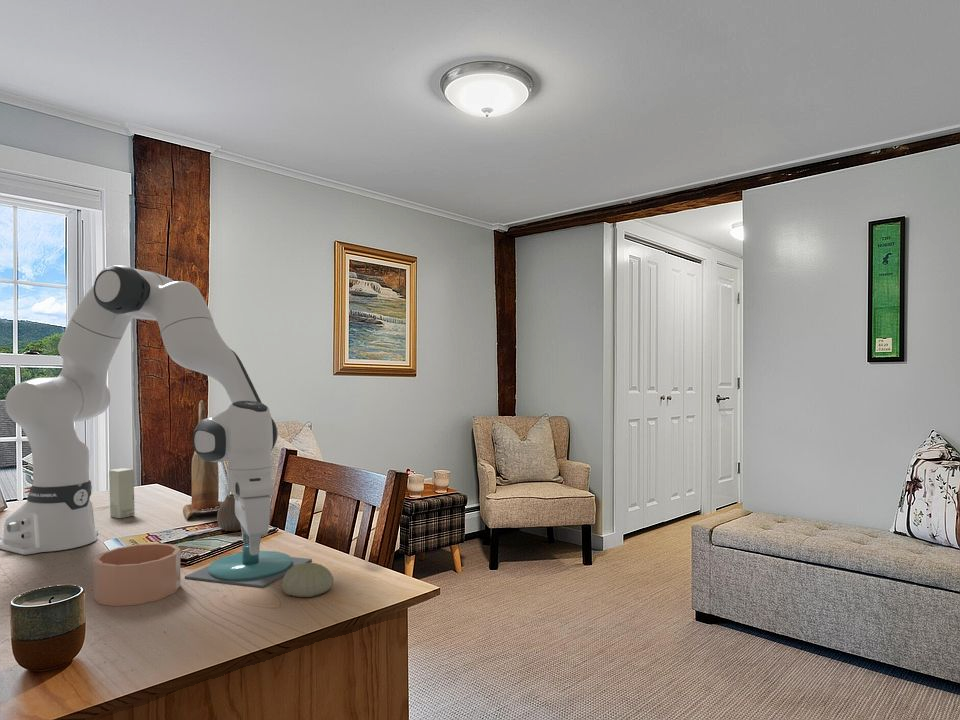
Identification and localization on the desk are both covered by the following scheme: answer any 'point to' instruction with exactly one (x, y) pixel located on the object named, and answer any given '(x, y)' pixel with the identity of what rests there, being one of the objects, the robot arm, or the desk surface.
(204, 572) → the mat
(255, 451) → the robot arm
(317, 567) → the sea urchin shell
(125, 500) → the box
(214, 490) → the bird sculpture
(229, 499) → the vase
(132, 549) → the bowl
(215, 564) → the lid
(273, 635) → the desk surface
